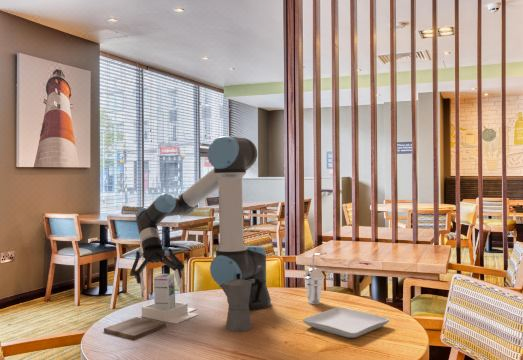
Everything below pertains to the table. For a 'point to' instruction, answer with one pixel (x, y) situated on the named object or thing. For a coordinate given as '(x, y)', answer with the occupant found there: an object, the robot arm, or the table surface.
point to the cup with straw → (314, 283)
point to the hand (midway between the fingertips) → (161, 288)
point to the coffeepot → (240, 302)
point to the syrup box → (164, 292)
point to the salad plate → (345, 322)
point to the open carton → (169, 313)
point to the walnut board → (135, 328)
